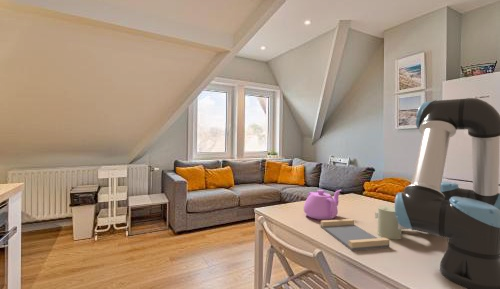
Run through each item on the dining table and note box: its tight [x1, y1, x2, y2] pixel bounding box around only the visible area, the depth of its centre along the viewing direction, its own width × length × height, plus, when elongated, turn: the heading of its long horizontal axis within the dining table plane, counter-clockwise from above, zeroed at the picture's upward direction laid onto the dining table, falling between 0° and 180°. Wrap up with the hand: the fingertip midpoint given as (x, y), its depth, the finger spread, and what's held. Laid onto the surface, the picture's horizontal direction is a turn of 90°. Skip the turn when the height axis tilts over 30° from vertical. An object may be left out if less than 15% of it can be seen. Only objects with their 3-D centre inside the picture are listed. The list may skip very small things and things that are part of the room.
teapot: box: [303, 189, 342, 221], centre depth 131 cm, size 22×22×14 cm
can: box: [376, 205, 402, 240], centre depth 107 cm, size 9×9×12 cm
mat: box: [320, 218, 391, 252], centre depth 105 cm, size 24×16×3 cm, turn 11°
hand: (386, 220), depth 107 cm, fingers open, 13 cm apart
